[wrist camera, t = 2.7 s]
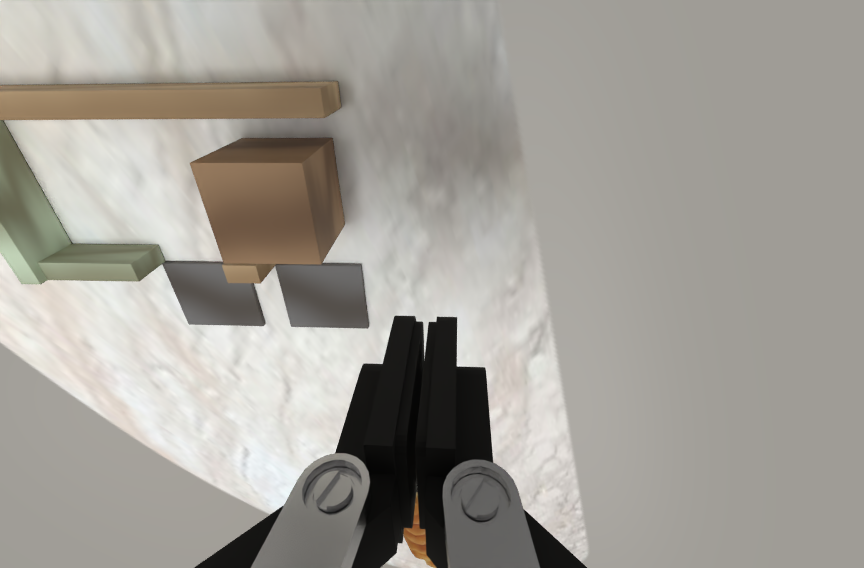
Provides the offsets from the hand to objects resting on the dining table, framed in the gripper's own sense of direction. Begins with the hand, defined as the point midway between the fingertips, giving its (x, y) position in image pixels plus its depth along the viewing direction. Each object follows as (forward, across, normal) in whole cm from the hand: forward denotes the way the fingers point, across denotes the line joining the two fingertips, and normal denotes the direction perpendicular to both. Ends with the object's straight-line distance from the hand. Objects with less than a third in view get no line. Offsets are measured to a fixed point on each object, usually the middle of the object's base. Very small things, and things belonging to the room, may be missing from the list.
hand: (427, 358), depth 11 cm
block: (+14, +8, -1) cm, 16 cm away
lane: (+14, +15, +2) cm, 21 cm away
